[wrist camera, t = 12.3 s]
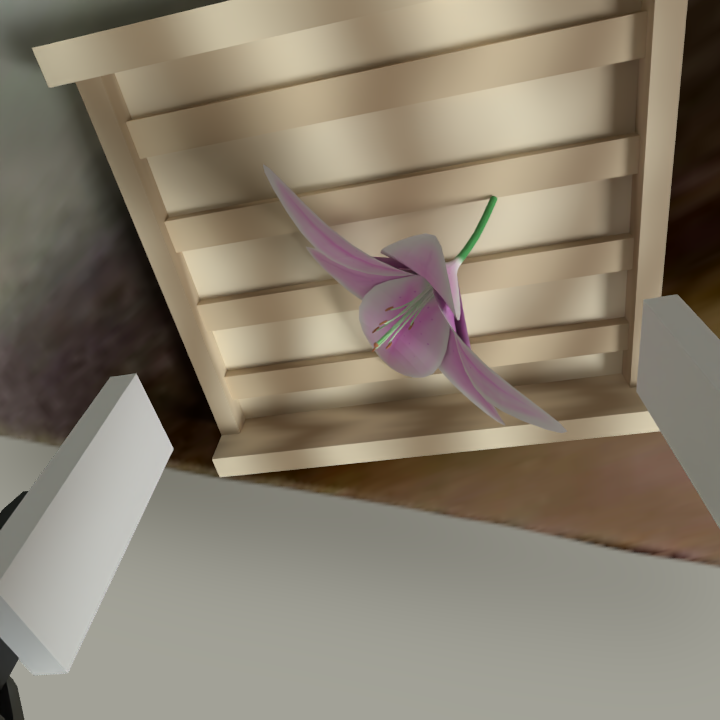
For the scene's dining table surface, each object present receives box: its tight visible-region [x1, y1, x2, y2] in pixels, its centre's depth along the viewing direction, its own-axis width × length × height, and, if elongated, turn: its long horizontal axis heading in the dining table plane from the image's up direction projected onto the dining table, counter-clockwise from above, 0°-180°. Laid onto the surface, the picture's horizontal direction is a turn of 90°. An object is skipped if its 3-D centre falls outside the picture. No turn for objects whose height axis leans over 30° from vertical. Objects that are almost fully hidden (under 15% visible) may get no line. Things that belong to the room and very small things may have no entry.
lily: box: [263, 164, 567, 433], centre depth 21 cm, size 12×12×10 cm
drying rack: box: [32, 0, 688, 477], centre depth 24 cm, size 21×19×4 cm
